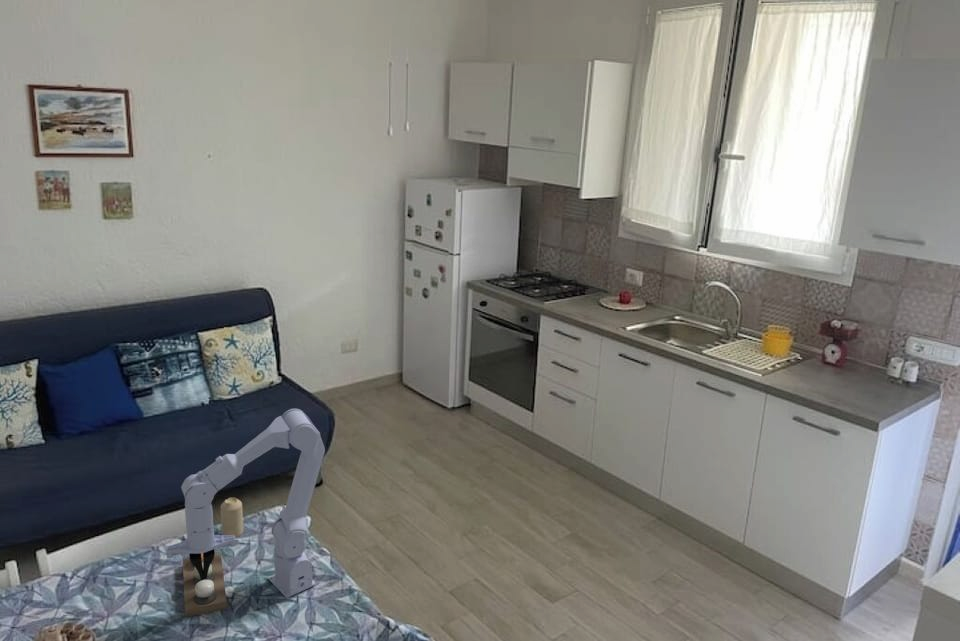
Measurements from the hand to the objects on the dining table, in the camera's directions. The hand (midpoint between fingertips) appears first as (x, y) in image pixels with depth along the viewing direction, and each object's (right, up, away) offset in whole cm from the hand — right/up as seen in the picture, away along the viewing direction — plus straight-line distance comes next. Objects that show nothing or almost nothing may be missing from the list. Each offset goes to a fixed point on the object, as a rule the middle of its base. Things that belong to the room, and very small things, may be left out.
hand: (203, 577), depth 166 cm
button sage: (-3, -2, +7) cm, 8 cm away
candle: (-4, +1, +30) cm, 30 cm away
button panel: (-3, -5, +8) cm, 10 cm away
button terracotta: (-6, -1, +13) cm, 15 cm away
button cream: (0, -4, +1) cm, 4 cm away
